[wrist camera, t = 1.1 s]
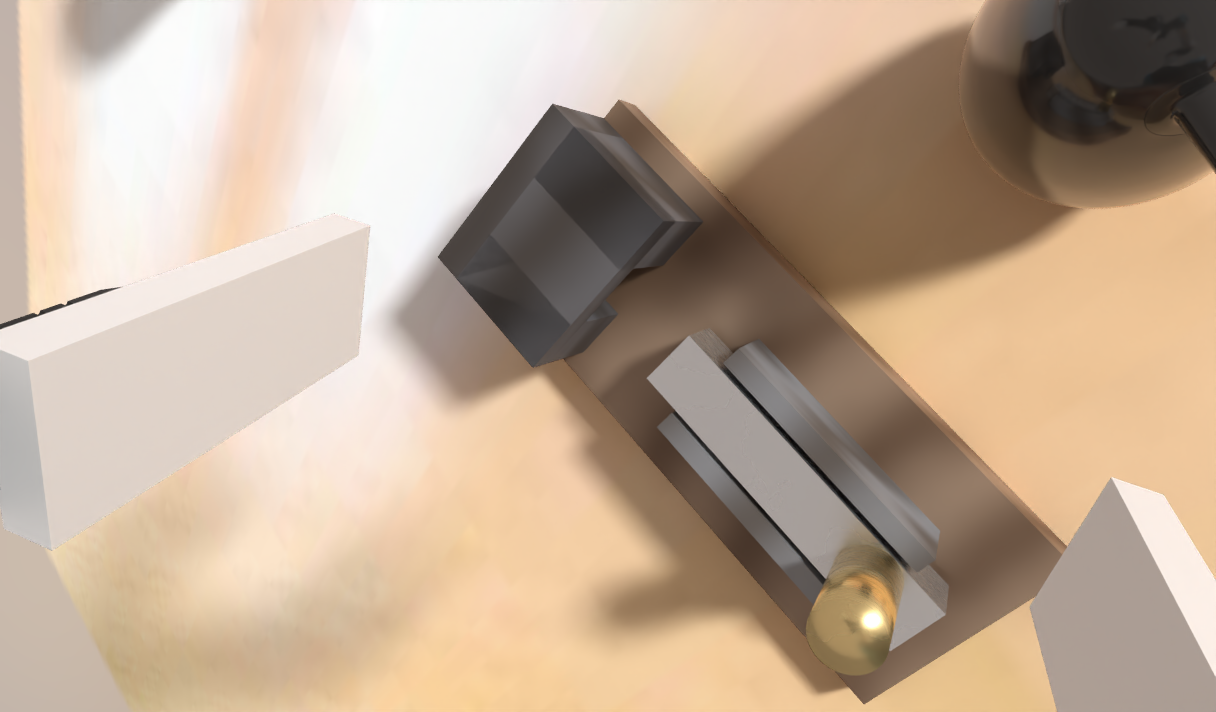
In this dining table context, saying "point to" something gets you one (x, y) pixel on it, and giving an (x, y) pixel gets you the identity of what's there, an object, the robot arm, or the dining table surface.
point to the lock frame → (736, 367)
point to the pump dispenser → (1093, 97)
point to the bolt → (805, 514)
